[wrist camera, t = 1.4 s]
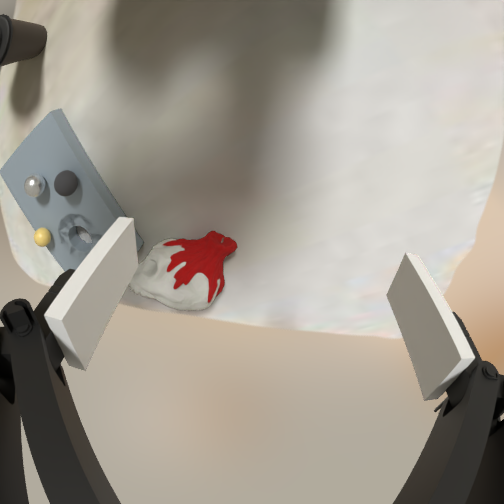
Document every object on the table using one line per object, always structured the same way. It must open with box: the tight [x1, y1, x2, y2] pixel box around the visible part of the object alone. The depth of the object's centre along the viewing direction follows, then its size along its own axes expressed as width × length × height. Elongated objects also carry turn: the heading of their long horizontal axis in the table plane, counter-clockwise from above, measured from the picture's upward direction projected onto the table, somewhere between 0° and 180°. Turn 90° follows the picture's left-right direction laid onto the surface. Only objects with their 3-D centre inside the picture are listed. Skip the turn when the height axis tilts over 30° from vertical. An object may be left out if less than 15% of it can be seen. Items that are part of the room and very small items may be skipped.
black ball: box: [54, 170, 78, 196], centre depth 33 cm, size 4×4×4 cm
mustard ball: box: [34, 228, 51, 247], centre depth 38 cm, size 3×3×3 cm
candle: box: [129, 231, 237, 311], centre depth 40 cm, size 9×11×15 cm
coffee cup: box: [0, 14, 47, 67], centre depth 21 cm, size 8×8×10 cm
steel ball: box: [24, 173, 46, 197], centre depth 33 cm, size 4×4×4 cm
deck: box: [0, 109, 144, 272], centre depth 38 cm, size 24×16×2 cm, turn 26°
